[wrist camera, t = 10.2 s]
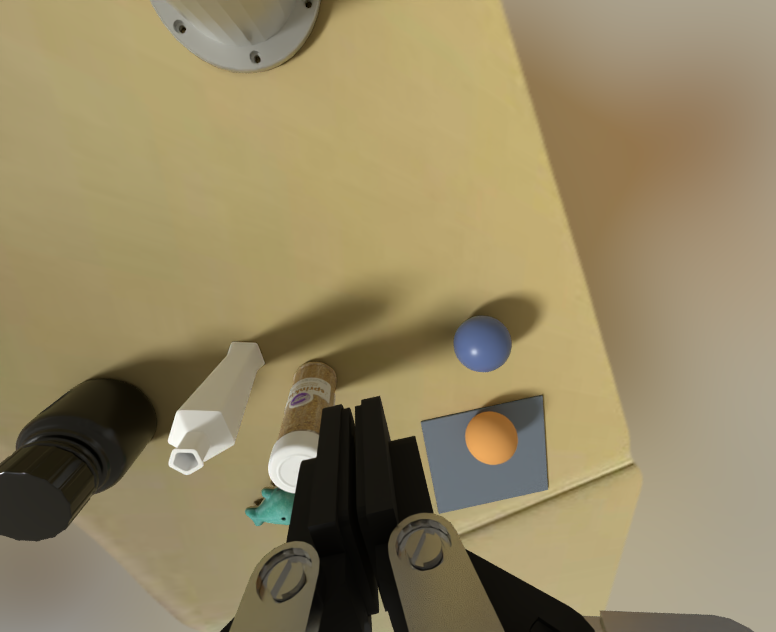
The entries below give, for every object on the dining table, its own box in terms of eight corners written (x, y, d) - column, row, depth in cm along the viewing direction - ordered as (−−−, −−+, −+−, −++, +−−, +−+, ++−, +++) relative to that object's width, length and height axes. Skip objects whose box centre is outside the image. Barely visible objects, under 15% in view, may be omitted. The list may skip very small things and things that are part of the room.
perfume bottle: (261, 383, 40) (213, 496, 26) (218, 370, 39) (145, 480, 25) (275, 345, 39) (232, 443, 25) (231, 331, 38) (161, 424, 24)
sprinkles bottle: (320, 352, 40) (305, 435, 27) (345, 384, 41) (343, 477, 29) (284, 374, 40) (253, 467, 28) (310, 405, 42) (292, 506, 29)
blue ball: (468, 384, 35) (455, 371, 41) (526, 370, 35) (505, 358, 41) (454, 326, 35) (443, 320, 40) (513, 311, 35) (494, 307, 40)
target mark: (420, 421, 44) (421, 422, 44) (541, 395, 44) (542, 396, 44) (438, 512, 49) (439, 513, 49) (547, 488, 49) (547, 489, 49)
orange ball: (475, 461, 38) (472, 475, 43) (530, 449, 38) (521, 464, 43) (460, 409, 41) (458, 427, 46) (510, 398, 41) (503, 417, 46)
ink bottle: (49, 379, 38) (-76, 465, 27) (141, 366, 39) (54, 446, 27) (88, 457, 42) (-9, 563, 30) (171, 445, 42) (106, 545, 31)
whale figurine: (318, 501, 47) (316, 528, 43) (265, 524, 47) (258, 553, 44) (294, 467, 45) (289, 493, 41) (238, 492, 45) (228, 519, 42)
